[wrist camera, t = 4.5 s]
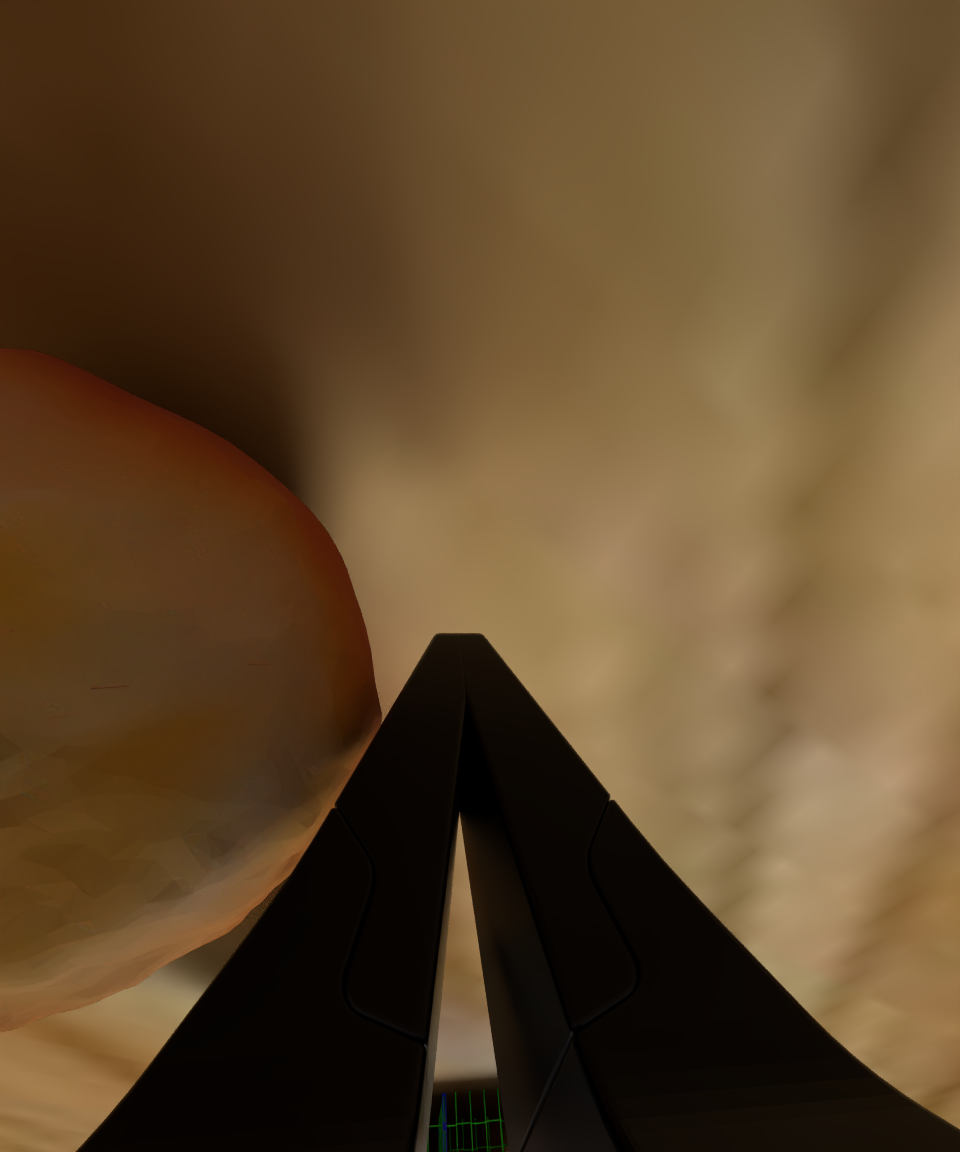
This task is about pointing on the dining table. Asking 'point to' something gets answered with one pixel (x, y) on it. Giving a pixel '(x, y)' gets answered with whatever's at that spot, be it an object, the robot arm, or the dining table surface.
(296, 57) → the dining table surface
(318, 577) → the fruit
